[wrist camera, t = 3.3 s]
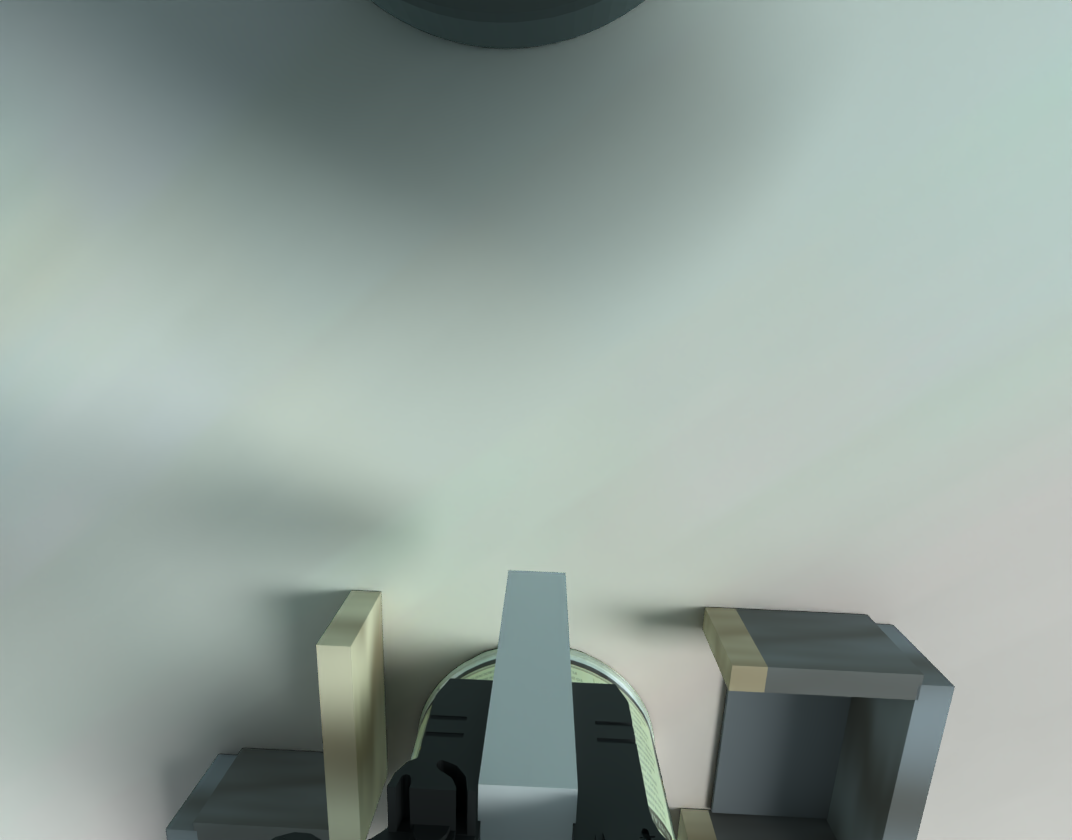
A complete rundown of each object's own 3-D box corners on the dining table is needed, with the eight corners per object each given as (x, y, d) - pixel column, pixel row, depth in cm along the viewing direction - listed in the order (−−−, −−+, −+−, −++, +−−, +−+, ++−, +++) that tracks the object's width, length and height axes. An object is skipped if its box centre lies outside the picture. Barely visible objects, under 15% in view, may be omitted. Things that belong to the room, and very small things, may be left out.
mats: (229, 608, 23) (226, 611, 23) (860, 639, 23) (862, 642, 22) (263, 918, 27) (261, 922, 27) (798, 950, 27) (800, 955, 26)
